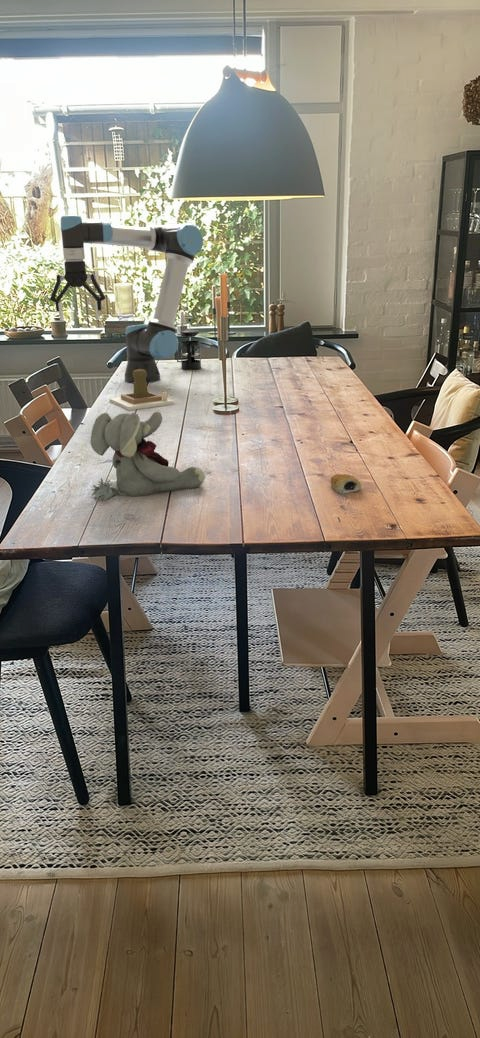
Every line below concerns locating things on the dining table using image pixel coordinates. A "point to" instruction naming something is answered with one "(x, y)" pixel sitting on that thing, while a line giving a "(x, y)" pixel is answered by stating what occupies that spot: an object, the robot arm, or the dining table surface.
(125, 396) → the seat board
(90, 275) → the robot arm
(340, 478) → the pastry
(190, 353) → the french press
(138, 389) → the cork
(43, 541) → the dining table surface
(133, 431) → the plush elephant
